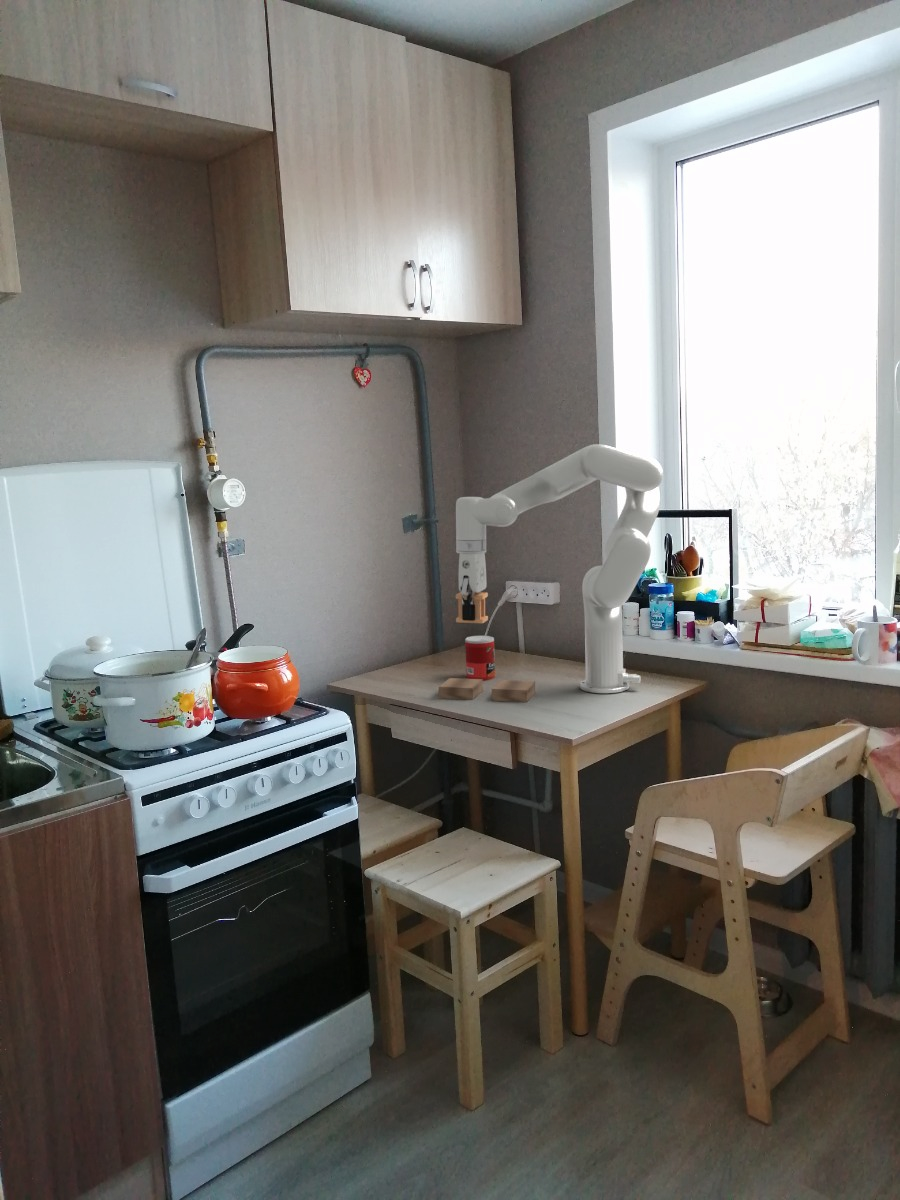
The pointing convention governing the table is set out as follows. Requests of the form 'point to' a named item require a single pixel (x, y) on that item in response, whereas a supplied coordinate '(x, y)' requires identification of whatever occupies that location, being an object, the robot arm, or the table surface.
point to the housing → (479, 608)
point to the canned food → (480, 657)
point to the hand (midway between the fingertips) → (471, 617)
